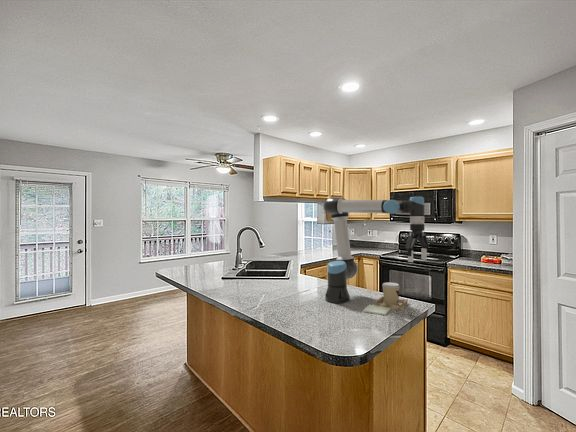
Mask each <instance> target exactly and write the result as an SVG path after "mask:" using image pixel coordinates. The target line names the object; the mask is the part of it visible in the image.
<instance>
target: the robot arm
mask: <svg viewBox="0 0 576 432" xmlns="http://www.w3.org/2000/svg"><path fill="white" fill-rule="evenodd" d="M323 209H324V211H325V212H326V213H327V215H330V218H331V220H332V221H333V225H334V233H335V234H334V235H335V239H336V241H335V242H336V251H337V257H336V259H335V260H334V261H333V260H332V261H329V262H328V263H327V267H326V268H327V269H326V271H327V272H326V273H327V289H326V292H325V294H324V295H325V300H324V301H326V302H328V303H332V304H333V303H334V304H344V303H348V302H350V301H351V296H350V294H349V290H348V285H347V282H348V281H347V280H349V279H352V278H353V277H355V276H356V274H357V273H358V270H359V269H358V264H357V263H356V261H355V257H354V256H353V255H352V252H351V245H350V244H351V243H350V236H349V228H348V226H349V225H348V219H349V217H350V215H349V213H355V214H356V213H362V214H363V213H364V214H365V213H367V214H389V215H393V214H396V215H397V214H409V223H410V224H409V230H410V231H411V232H410V231H409V232H408V234H407V235H408V236H407V240H406V244H405V247H404V249H405V250H406V251H407V262H408V263H414V250H413V249H414V247H415V245H416V242H417V241H418V243H419V244H420V246H421V247H422V248H420V249H421V250H420V251H421V256H420V257H421V258H420V259H421V261H422V260H424V261H427V255H428V253H427V252H428V251H427V250H428V249H429V248H430V245H429V244H430V243H429V240H428V238H427V232H426V231H425V227H426V226H425V224H424V223H425V219H426V218H425V198H424V197H423V196H410V197H409V199H408V200H396V199H346V198H343V197H337V196H331V197H329V198H326V199H325V201H324V203H323Z"/></svg>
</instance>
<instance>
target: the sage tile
mask: <svg viewBox="0 0 576 432" xmlns="http://www.w3.org/2000/svg"><path fill="white" fill-rule="evenodd" d="M391 310H392V309H391V308H390V307H384V306H377V305H374V304H371V303H370V304H369V305H367V306H366V307H365V308H364V309H363V310H362V312H363V313H369V314H375V315H380V316H387V314H388V313H389V312H390V311H391Z"/></svg>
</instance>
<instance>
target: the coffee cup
mask: <svg viewBox="0 0 576 432" xmlns="http://www.w3.org/2000/svg"><path fill="white" fill-rule="evenodd" d="M382 295H383V296H382V297H384V300H383V304H390V305H397V306H399V302H398V301H399V299H400V284H399V283H397V282H383V283H382Z"/></svg>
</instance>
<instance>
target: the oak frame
mask: <svg viewBox="0 0 576 432" xmlns="http://www.w3.org/2000/svg"><path fill="white" fill-rule="evenodd" d="M382 302H383V303H382ZM400 303H401V304H400ZM398 304H400V305H398V306H397V305H390V304H384V296H380V297H379V298H377V300H375V301H374V304H373V305H377V306H384V307H390V308H391V310H396V311H397V310H399V311H403V310H404V309H405V307H406V306H407V305H406V304H408V299H403V298H399V301H398Z"/></svg>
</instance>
